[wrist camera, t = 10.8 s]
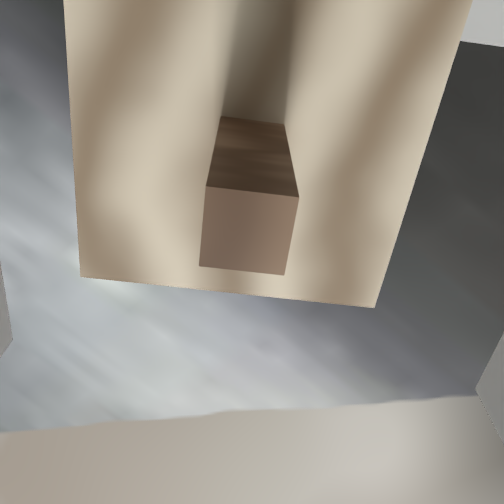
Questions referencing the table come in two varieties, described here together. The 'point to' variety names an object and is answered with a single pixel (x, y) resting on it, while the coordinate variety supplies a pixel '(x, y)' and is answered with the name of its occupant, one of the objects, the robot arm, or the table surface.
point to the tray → (485, 23)
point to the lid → (252, 138)
